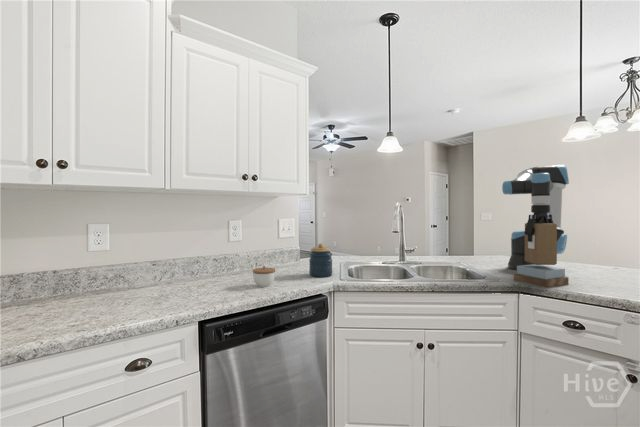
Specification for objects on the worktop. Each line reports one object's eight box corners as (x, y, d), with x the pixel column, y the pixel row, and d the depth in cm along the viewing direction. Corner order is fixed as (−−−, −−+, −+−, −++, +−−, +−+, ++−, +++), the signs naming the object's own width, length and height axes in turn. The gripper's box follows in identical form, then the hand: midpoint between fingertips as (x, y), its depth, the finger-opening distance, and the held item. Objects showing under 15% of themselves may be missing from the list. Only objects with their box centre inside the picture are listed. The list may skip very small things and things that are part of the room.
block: (544, 261, 157) (544, 222, 156) (557, 265, 147) (558, 223, 146) (523, 261, 157) (523, 222, 157) (535, 265, 147) (536, 223, 147)
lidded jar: (264, 289, 141) (264, 269, 141) (248, 286, 147) (247, 266, 146) (279, 284, 150) (279, 265, 150) (263, 281, 156) (263, 263, 156)
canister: (327, 272, 179) (327, 242, 179) (335, 276, 167) (335, 244, 167) (306, 273, 175) (306, 242, 175) (313, 278, 163) (312, 245, 163)
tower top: (535, 271, 161) (535, 264, 161) (564, 276, 148) (564, 268, 148) (516, 273, 156) (516, 265, 156) (545, 279, 143) (545, 270, 143)
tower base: (534, 278, 162) (534, 271, 162) (568, 285, 148) (568, 277, 148) (513, 281, 157) (513, 273, 157) (546, 288, 142) (546, 280, 142)
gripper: (548, 204, 160) (548, 245, 160) (515, 204, 150) (515, 248, 151) (564, 204, 153) (564, 247, 153) (531, 204, 143) (531, 250, 144)
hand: (540, 247), depth 152 cm, fingers open, 13 cm apart
